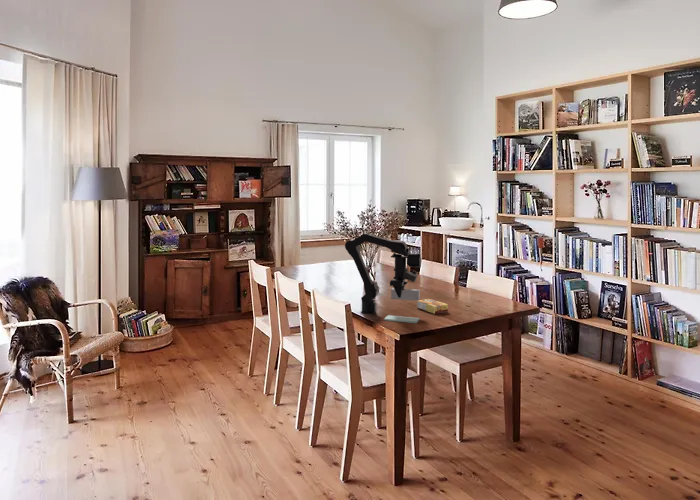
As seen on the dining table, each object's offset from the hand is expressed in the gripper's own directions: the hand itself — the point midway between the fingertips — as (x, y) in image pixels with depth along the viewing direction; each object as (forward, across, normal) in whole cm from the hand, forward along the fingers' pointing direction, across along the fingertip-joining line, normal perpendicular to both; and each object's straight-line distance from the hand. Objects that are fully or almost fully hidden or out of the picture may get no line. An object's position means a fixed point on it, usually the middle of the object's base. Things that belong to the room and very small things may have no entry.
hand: (400, 296), depth 273 cm
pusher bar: (+1, 0, -3) cm, 3 cm away
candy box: (+7, +10, -20) cm, 23 cm away
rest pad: (+9, -10, -4) cm, 14 cm away
